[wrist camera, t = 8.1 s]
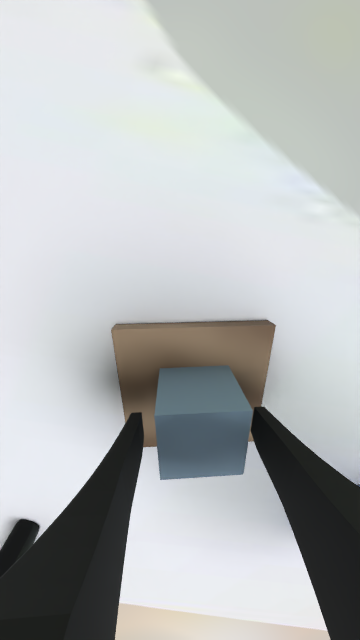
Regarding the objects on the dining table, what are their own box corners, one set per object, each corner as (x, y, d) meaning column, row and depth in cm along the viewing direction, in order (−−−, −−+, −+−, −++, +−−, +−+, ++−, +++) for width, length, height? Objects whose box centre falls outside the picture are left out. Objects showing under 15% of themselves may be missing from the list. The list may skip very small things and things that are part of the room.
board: (249, 430, 16) (272, 480, 13) (131, 436, 16) (119, 490, 12) (267, 320, 13) (307, 345, 9) (115, 324, 12) (91, 352, 9)
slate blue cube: (224, 417, 14) (243, 474, 10) (163, 420, 14) (160, 479, 10) (228, 365, 13) (252, 410, 9) (159, 368, 12) (154, 415, 9)
